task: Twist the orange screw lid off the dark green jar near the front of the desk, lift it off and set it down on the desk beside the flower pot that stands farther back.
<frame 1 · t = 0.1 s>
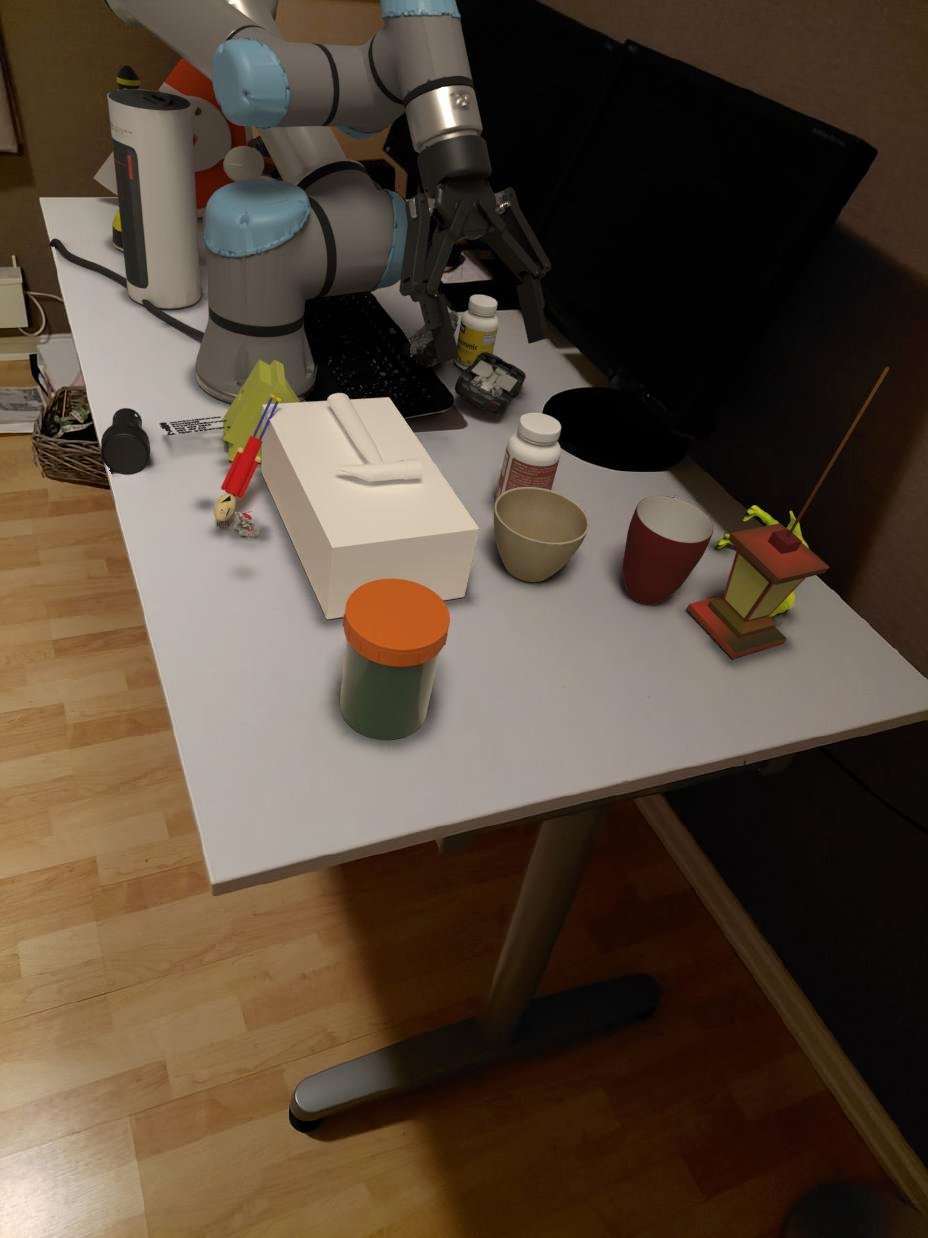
hand: (495, 350, 94), 15 cm above the table, tool tilted 35°, fingers open, 13 cm apart
mug: (650, 590, 92), on the table
toy: (381, 215, 142), point 8 cm above the table, touching mug 2
flashlight: (142, 245, 137), on the table
figurine 2: (241, 535, 87), on the table, touching figurine
flower pot: (526, 568, 91), on the table
supplement bottle: (471, 366, 125), on the table
light fixture: (734, 627, 90), on the table
jar: (383, 706, 73), on the table
pill bottle: (519, 506, 100), on the table
figurine: (269, 402, 92), point 8 cm above the table, touching figurine 2
bracket: (239, 401, 95), point 6 cm above the table, touching flashlight 2
wall plaque: (140, 217, 149), on the table, touching mug 2
speaker: (164, 296, 125), on the table
dinosaur figurine: (733, 542, 102), on the table
lid: (397, 616, 66), point 11 cm above the table, screwed on, not yet turned
rock: (405, 317, 121), point 5 cm above the table
flashlight 2: (158, 425, 99), point 1 cm above the table, touching bracket
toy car: (495, 372, 115), point 4 cm above the table
hammer relief block: (357, 532, 91), on the table
mug 2: (281, 244, 148), on the table, touching toy, wall plaque
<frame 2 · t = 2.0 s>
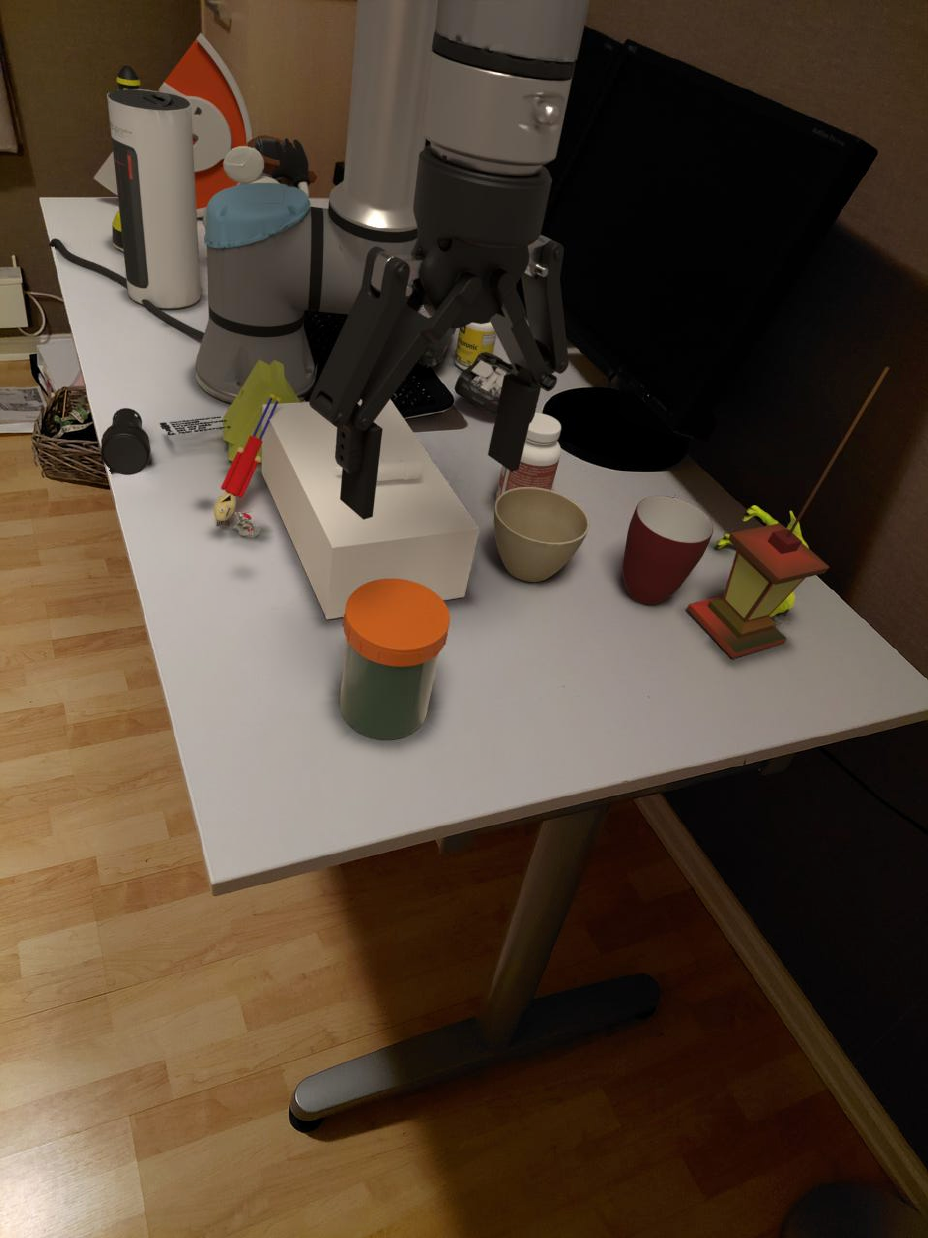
hand: (434, 484, 60), 22 cm above the table, tool pointing down, fingers open, 13 cm apart
supplement bottle: (471, 366, 125), on the table, touching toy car
figurine: (269, 402, 92), point 8 cm above the table, touching figurine 2, hammer relief block
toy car: (495, 372, 115), point 4 cm above the table, touching supplement bottle
hammer relief block: (357, 532, 91), on the table, touching figurine
everything else where it was.
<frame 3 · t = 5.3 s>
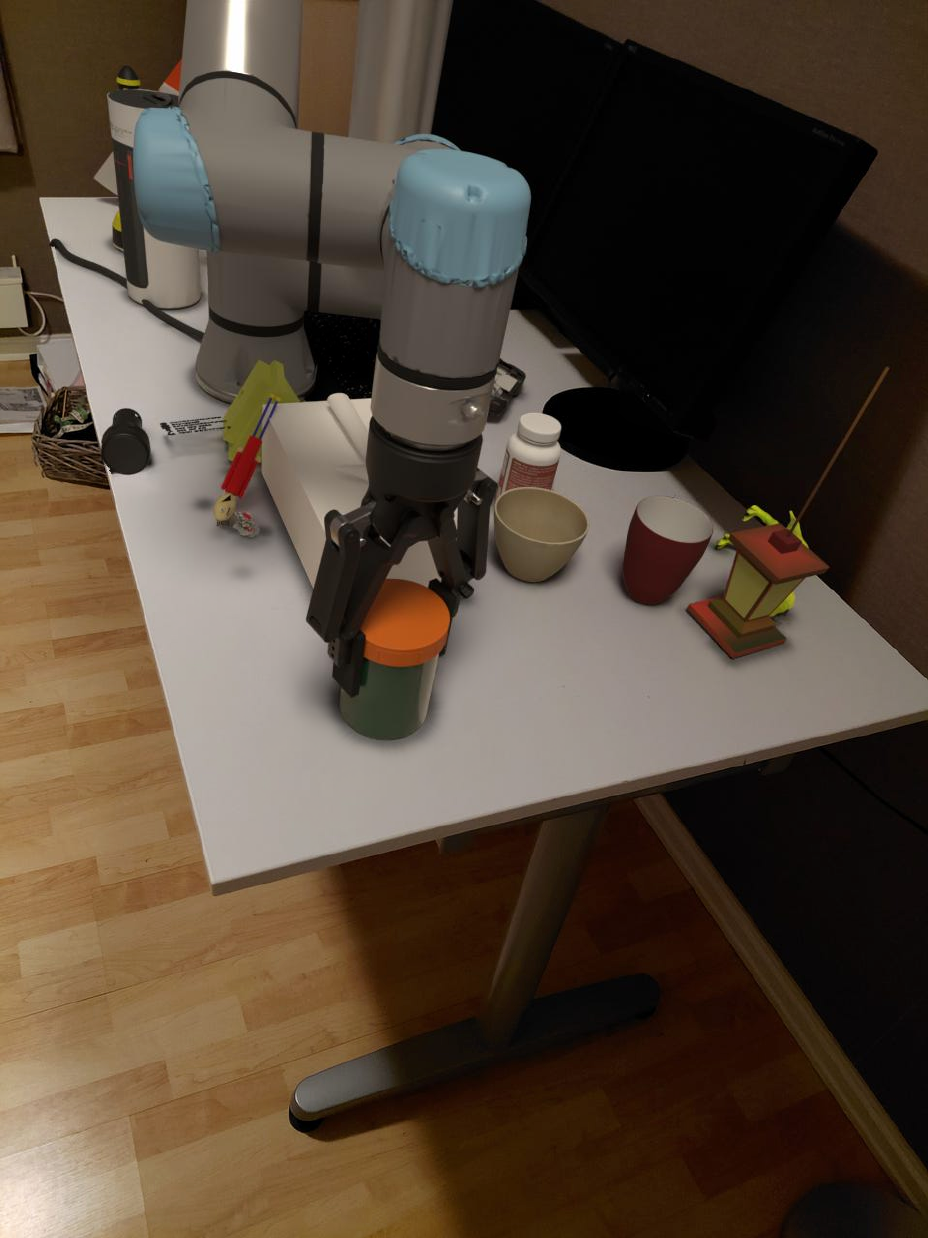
hand: (390, 664, 70), 5 cm above the table, tool pointing down, fingers closed on lid, 8 cm apart
lid: (397, 616, 66), point 11 cm above the table, screwed on, not yet turned, touching gripper
everything else where it was.
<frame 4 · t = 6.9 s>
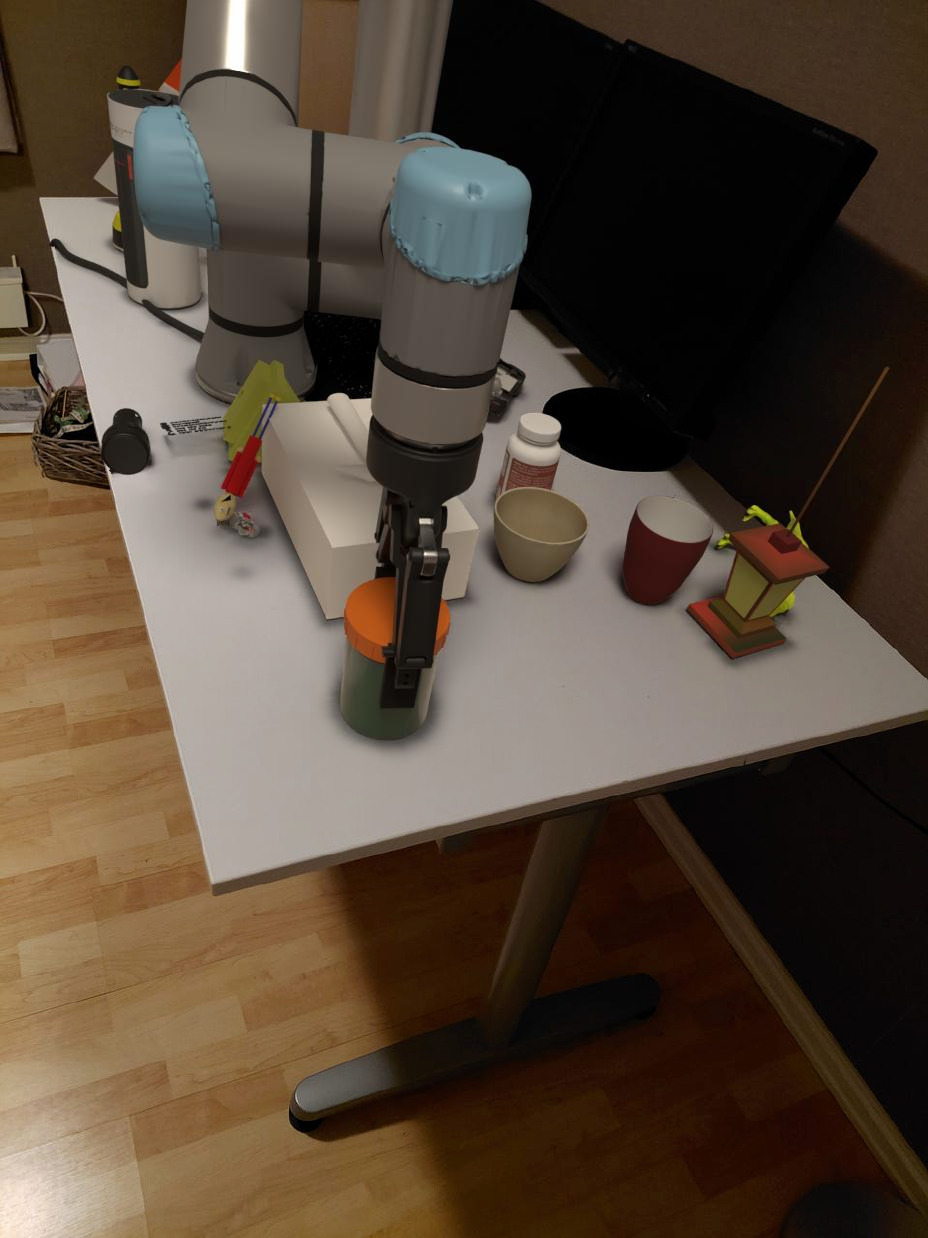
hand: (390, 664, 70), 5 cm above the table, tool pointing down, fingers closed on lid, 8 cm apart
lid: (397, 614, 66), point 11 cm above the table, turned 60° so far, risen 0.2 cm, still on its thread, touching gripper
everything else where it was.
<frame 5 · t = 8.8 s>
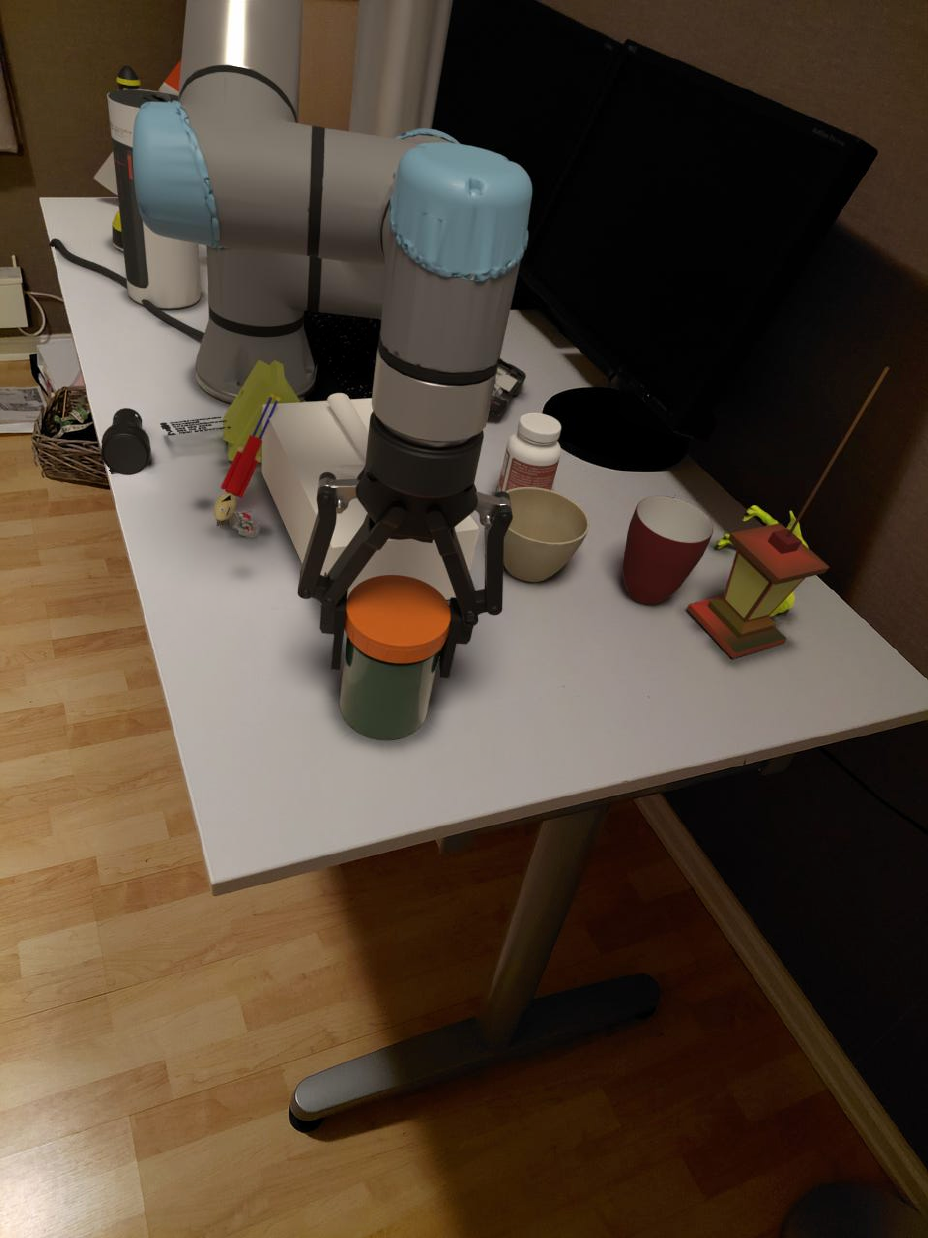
hand: (390, 662, 70), 6 cm above the table, tool pointing down, fingers closed on lid, 8 cm apart
figurine: (268, 401, 92), point 8 cm above the table, touching figurine 2
lid: (398, 612, 66), point 11 cm above the table, turned 143° so far, risen 0.4 cm, still on its thread, touching gripper
hammer relief block: (357, 532, 91), on the table
everything else where it was.
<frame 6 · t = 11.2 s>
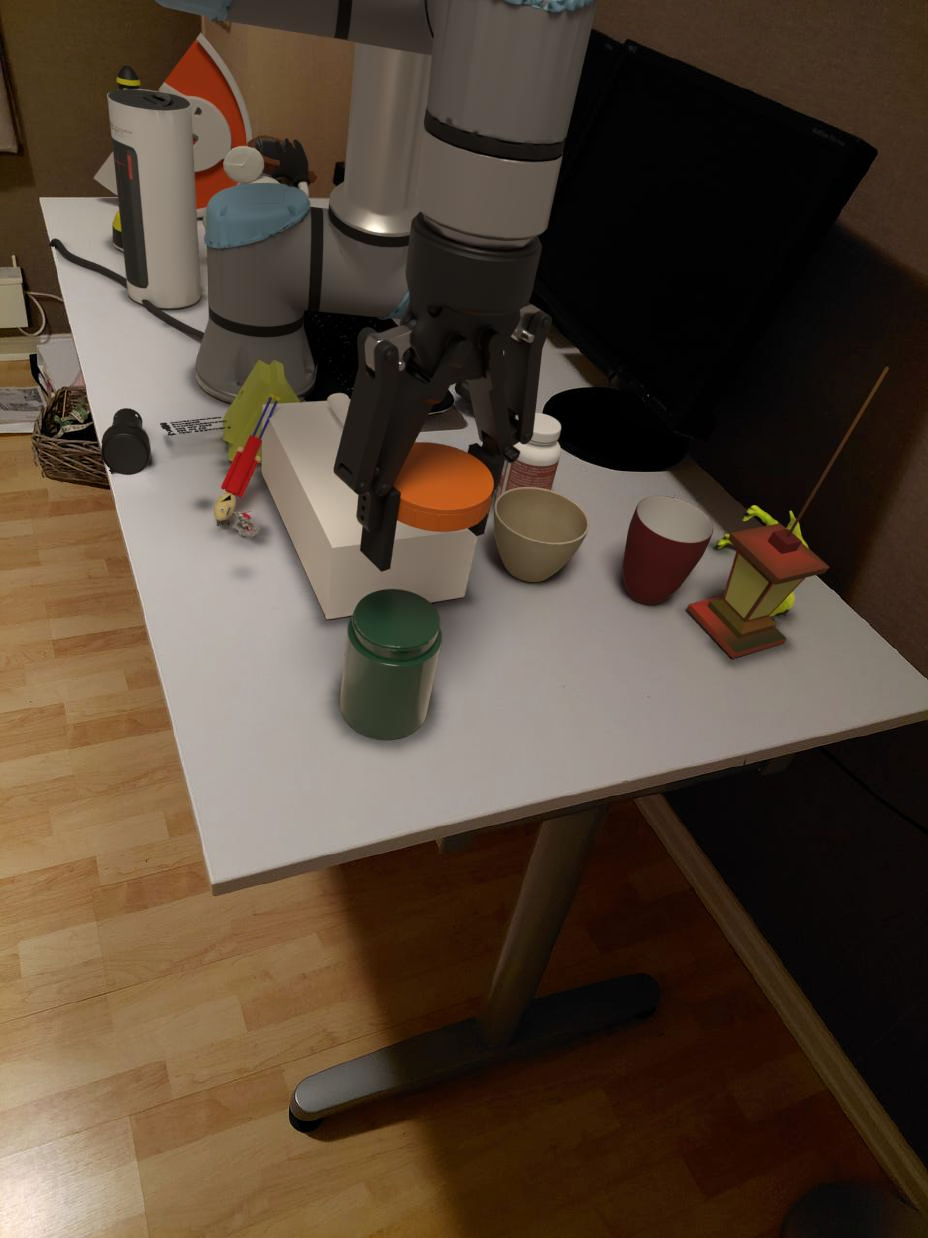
hand: (424, 541, 62), 18 cm above the table, tool pointing down, fingers closed on lid, 8 cm apart
figurine: (267, 401, 92), point 8 cm above the table, touching figurine 2, hammer relief block
lid: (434, 478, 59), point 23 cm above the table, off its thread, touching gripper
hammer relief block: (357, 532, 91), on the table, touching figurine
everything else where it was.
when the fingers open (2 cm above the table, at t = 17.3 s): lid drops 6 cm, point 1 cm above the table.
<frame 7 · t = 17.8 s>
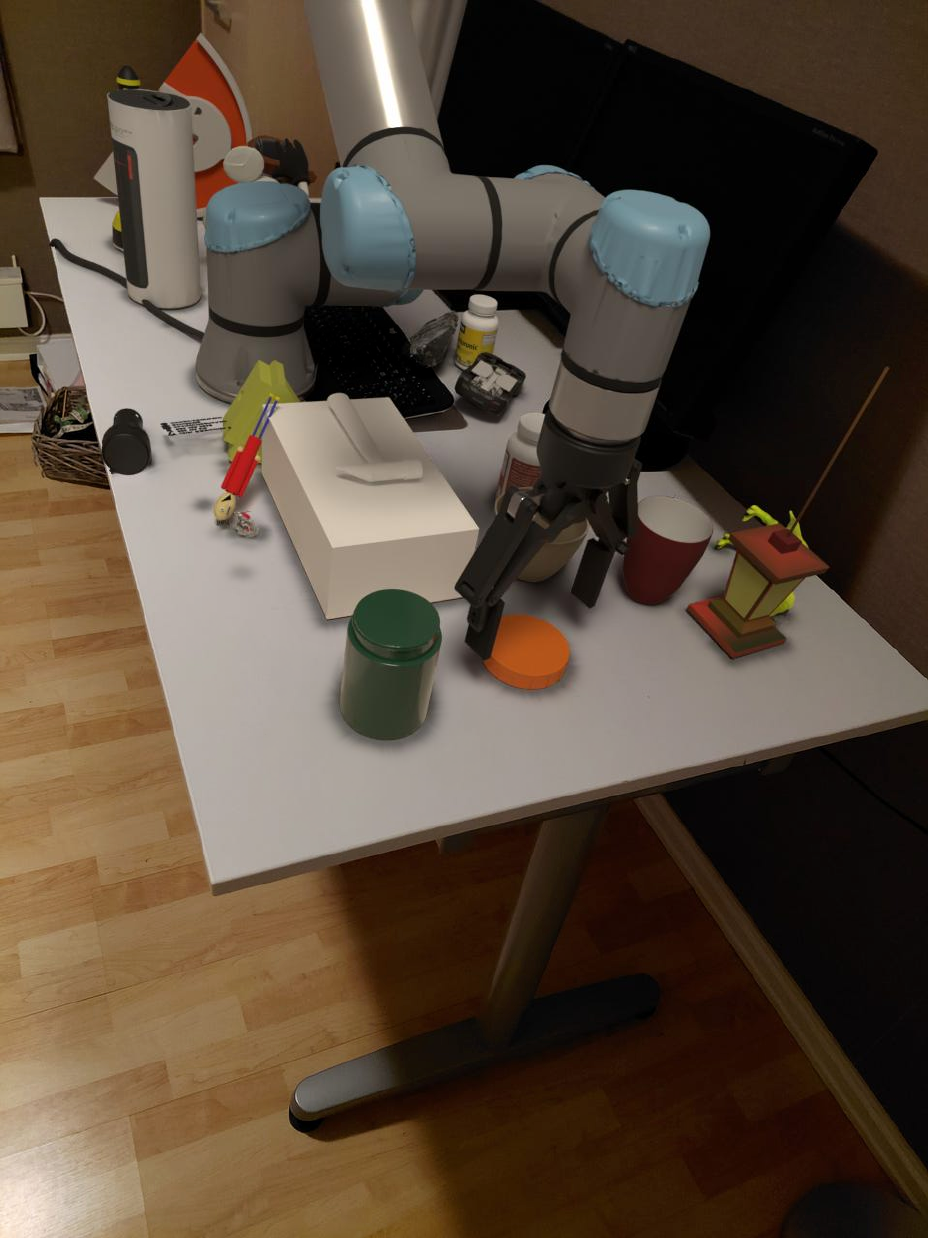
hand: (532, 623, 78), 4 cm above the table, tool pointing down, fingers open, 13 cm apart
figurine: (267, 401, 92), point 8 cm above the table, touching figurine 2
lid: (526, 646, 80), point 1 cm above the table, off its thread
hammer relief block: (357, 532, 91), on the table
everything else where it was.
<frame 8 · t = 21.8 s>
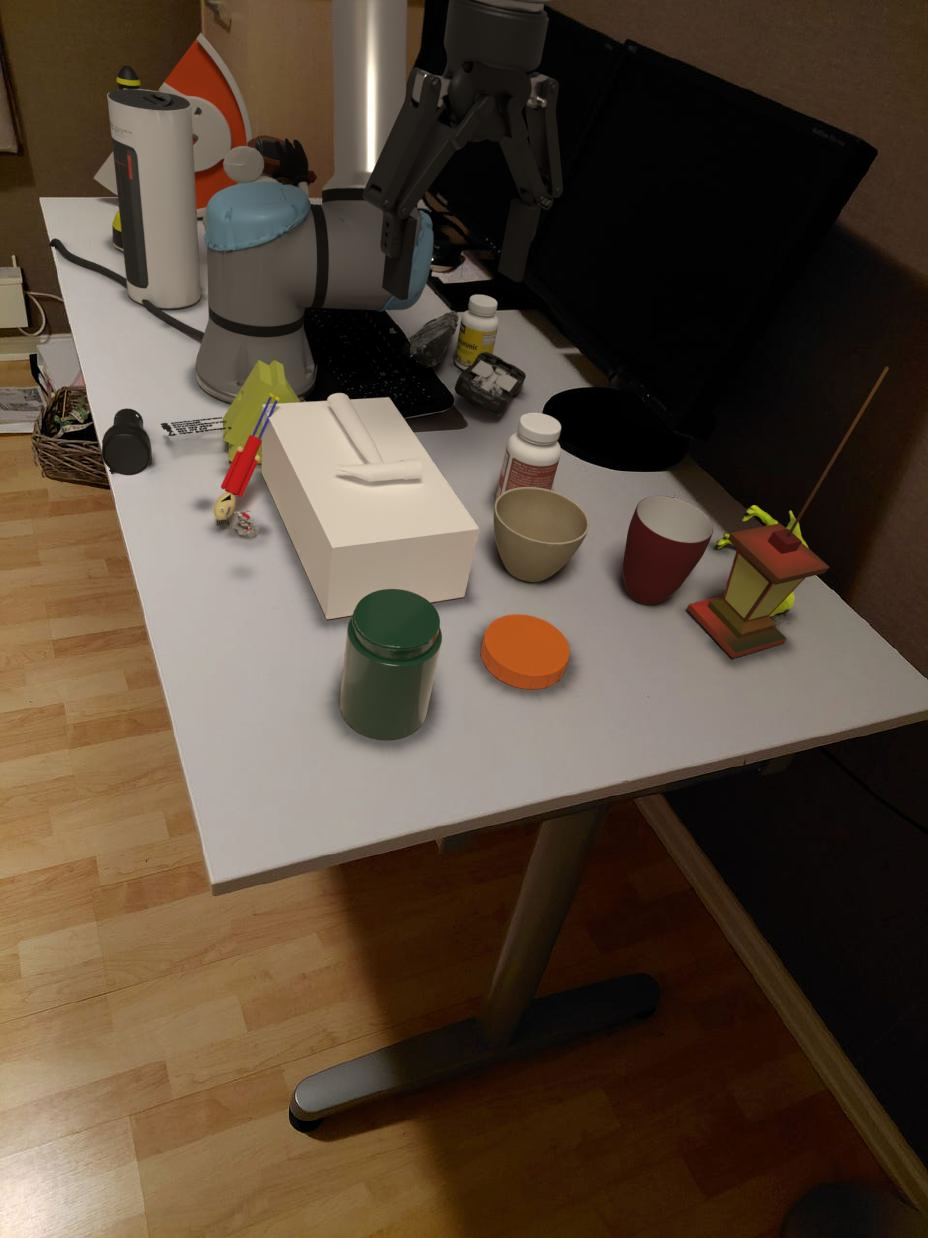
hand: (455, 284, 76), 27 cm above the table, tool pointing down, fingers open, 13 cm apart
nothing on the table moved.
at the end: lid came off its thread; lid inside the target area on the table beside the flower pot (0.0 cm from its centre), point 1.7 cm above the table; the gripper is holding nothing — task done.
